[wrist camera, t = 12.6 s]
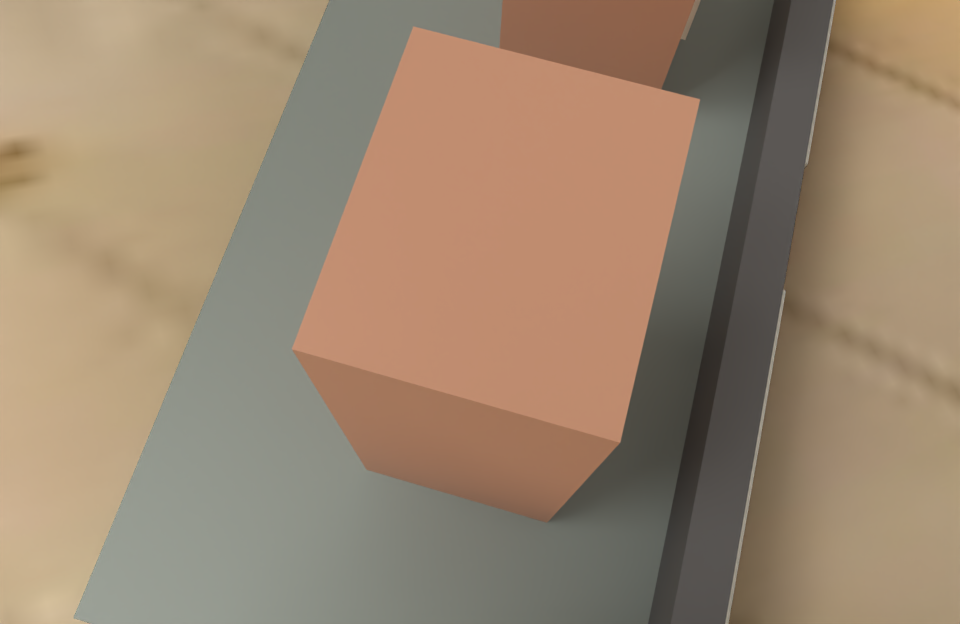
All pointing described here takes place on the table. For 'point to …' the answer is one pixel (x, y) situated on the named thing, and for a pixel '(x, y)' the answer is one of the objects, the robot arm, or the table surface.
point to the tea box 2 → (600, 34)
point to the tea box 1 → (496, 272)
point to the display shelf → (434, 514)
